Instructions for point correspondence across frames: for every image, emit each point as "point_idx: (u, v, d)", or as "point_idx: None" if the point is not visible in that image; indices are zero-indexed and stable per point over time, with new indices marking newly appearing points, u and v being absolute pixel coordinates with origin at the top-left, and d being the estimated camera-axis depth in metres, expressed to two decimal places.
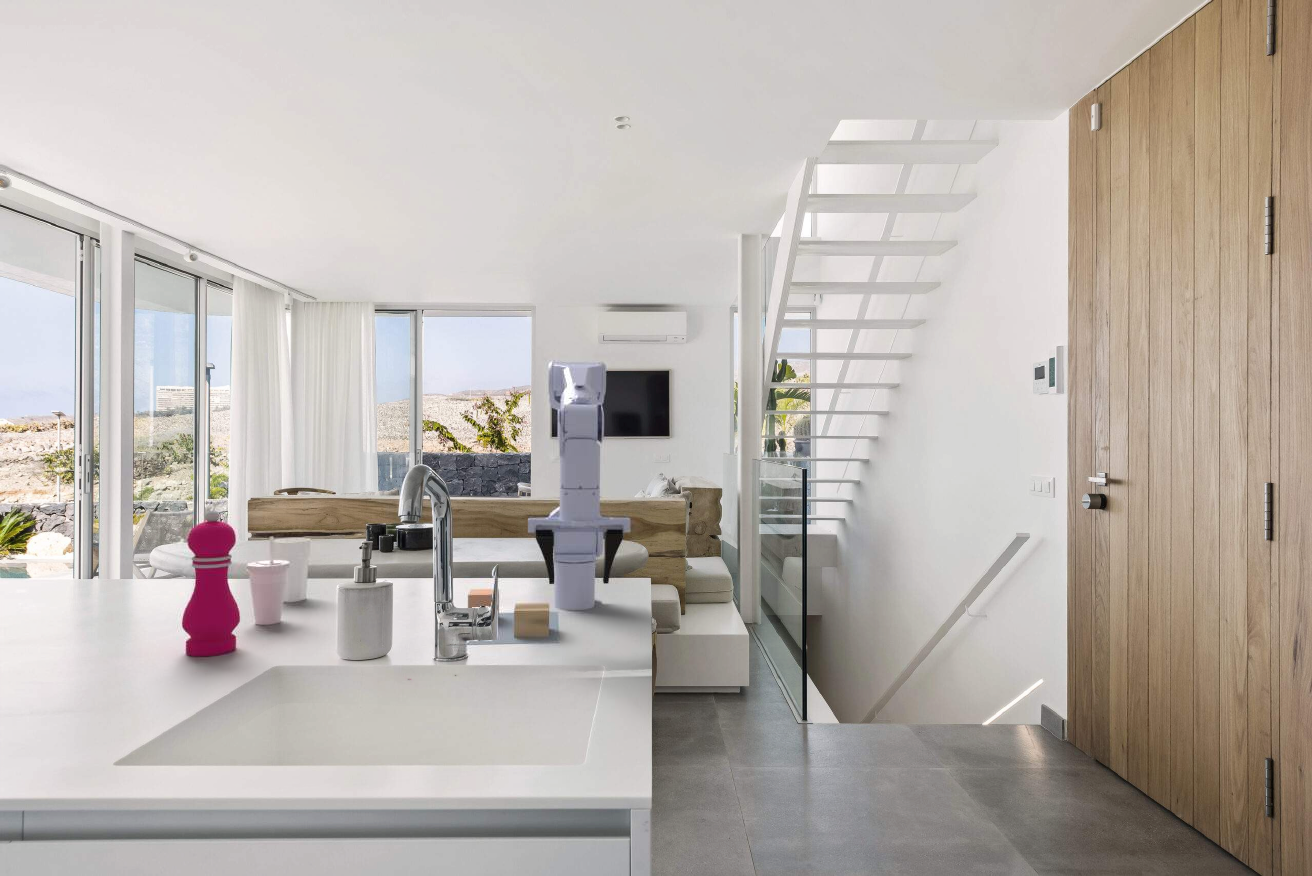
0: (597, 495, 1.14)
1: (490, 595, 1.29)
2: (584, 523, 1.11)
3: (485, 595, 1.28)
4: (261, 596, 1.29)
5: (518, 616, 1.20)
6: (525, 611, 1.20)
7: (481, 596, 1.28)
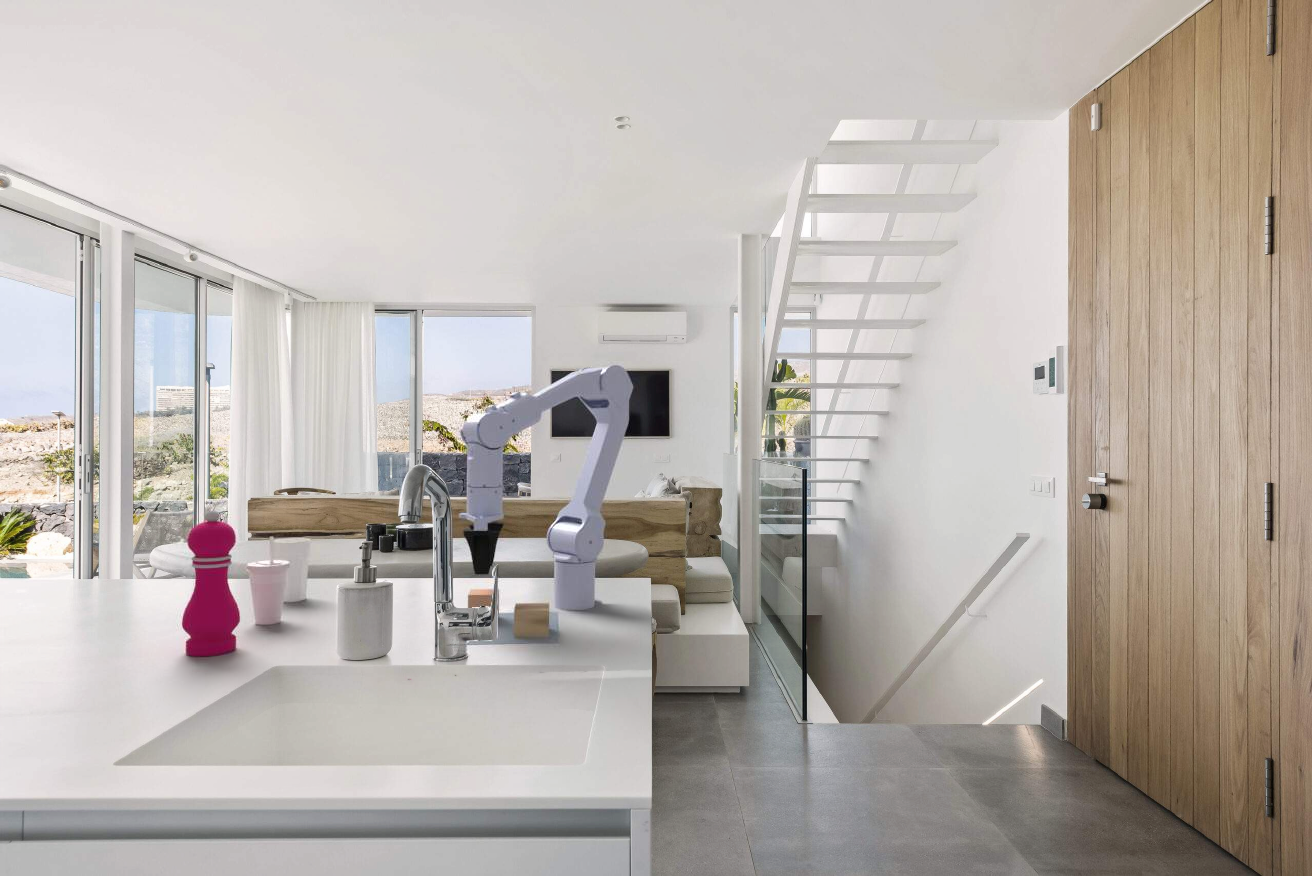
0: (474, 493, 1.28)
1: (490, 595, 1.29)
2: None
3: (485, 595, 1.28)
4: (261, 596, 1.29)
5: (518, 616, 1.20)
6: (525, 611, 1.20)
7: (481, 596, 1.28)
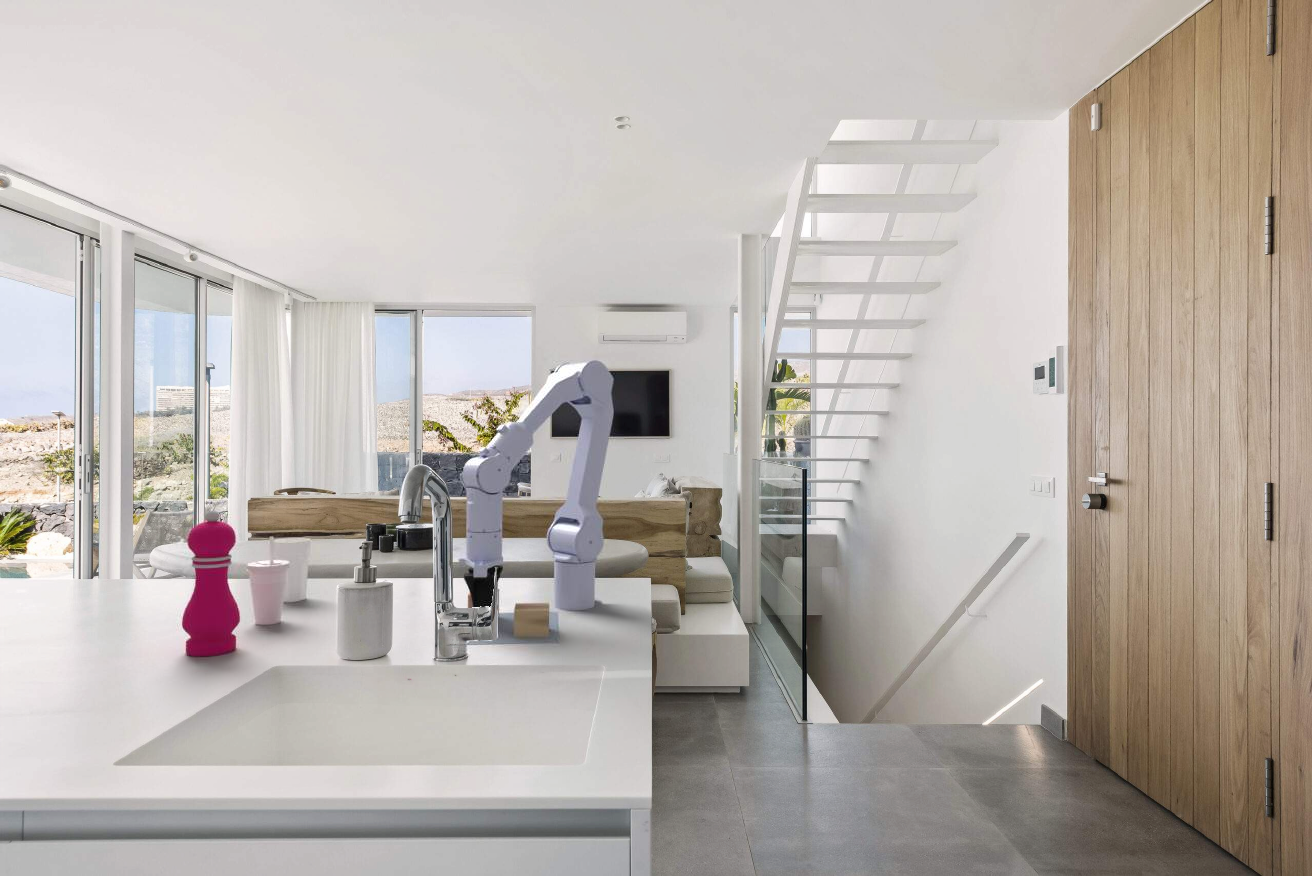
0: (474, 538, 1.28)
1: None
2: None
3: None
4: (261, 596, 1.29)
5: (518, 616, 1.20)
6: (525, 611, 1.20)
7: None
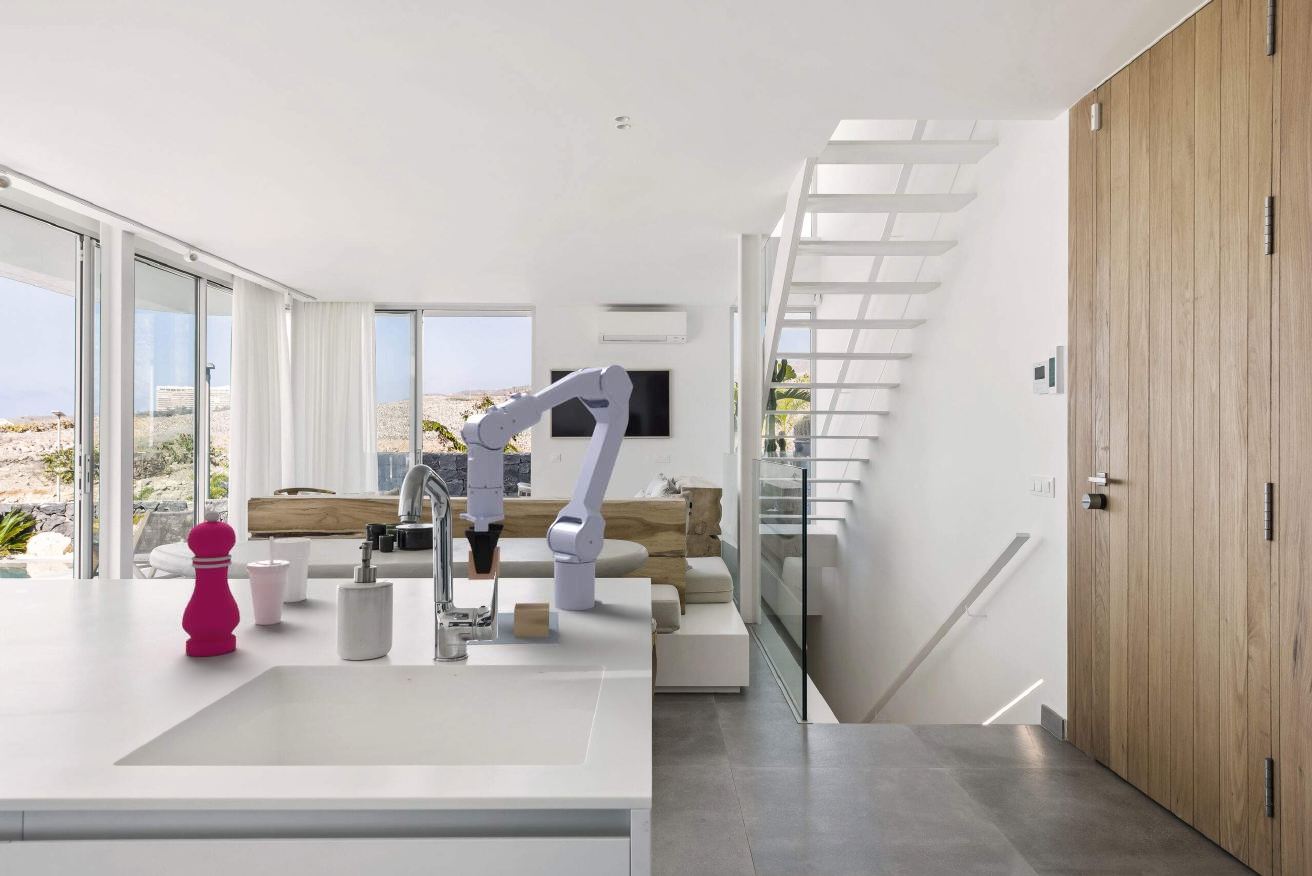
0: (475, 494, 1.28)
1: None
2: None
3: None
4: (261, 596, 1.29)
5: (518, 616, 1.20)
6: (525, 611, 1.20)
7: None
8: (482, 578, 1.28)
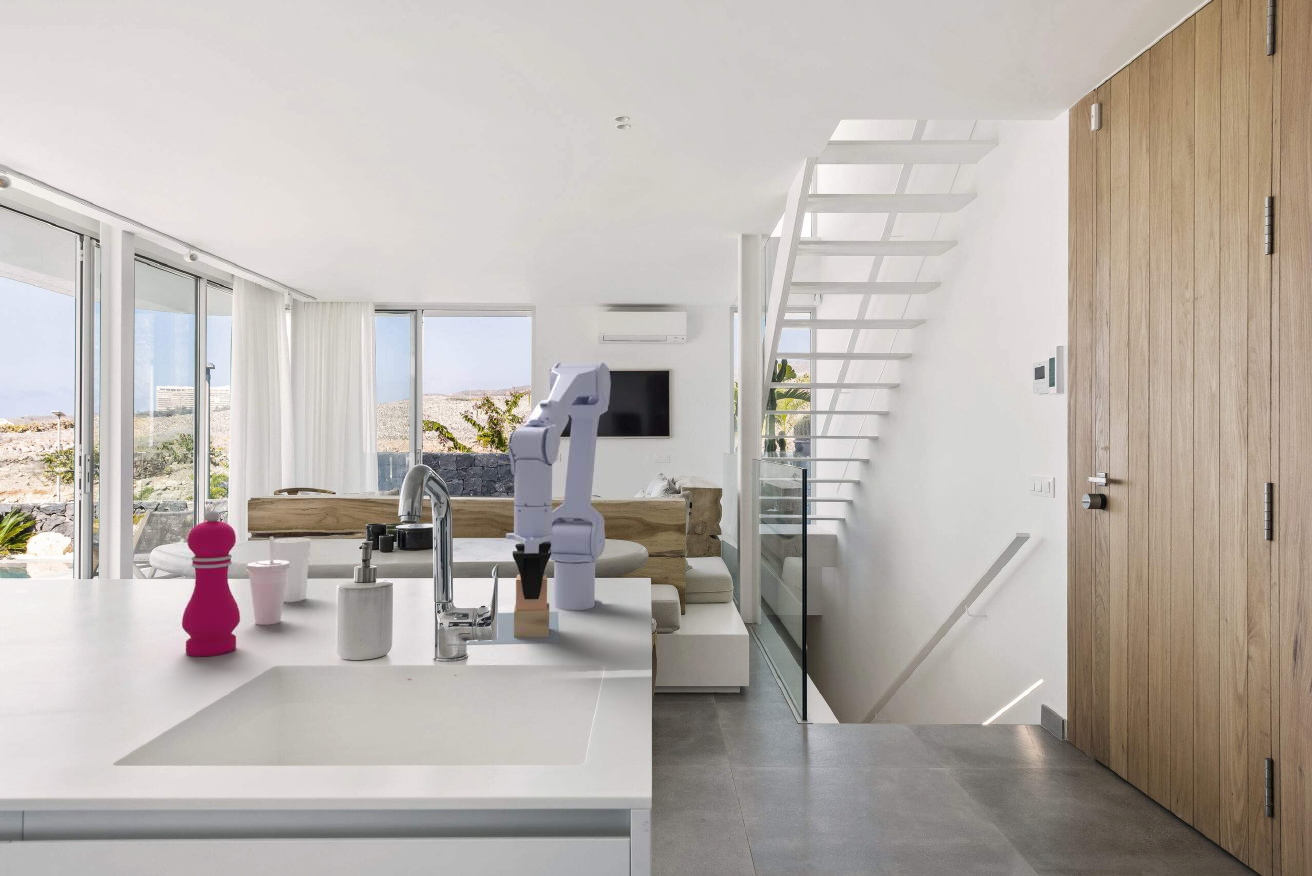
0: (523, 513, 1.20)
1: None
2: (506, 536, 1.22)
3: None
4: (261, 596, 1.29)
5: (518, 616, 1.20)
6: (525, 611, 1.20)
7: None
8: (530, 608, 1.20)
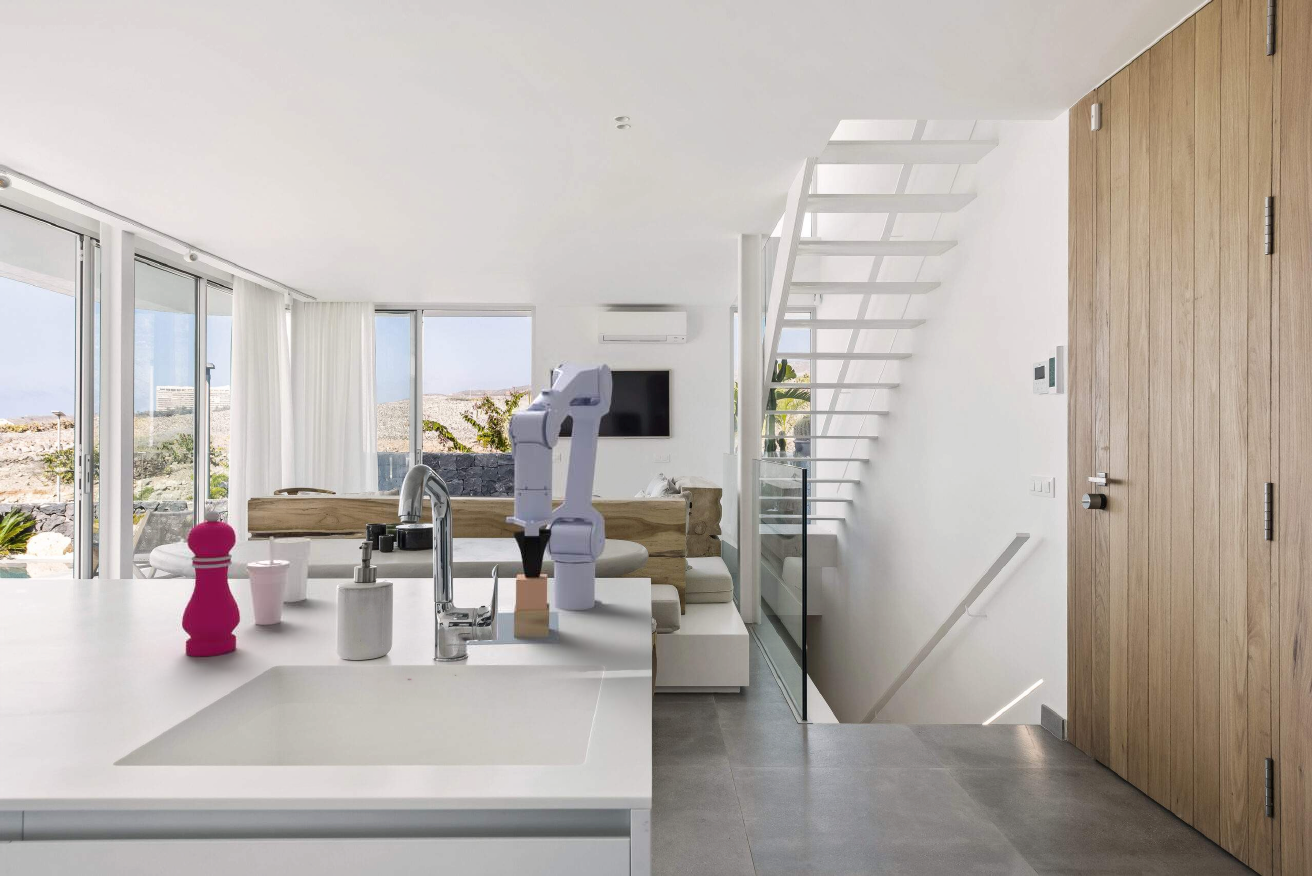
0: (523, 496, 1.20)
1: (539, 580, 1.21)
2: (506, 519, 1.21)
3: (534, 580, 1.21)
4: (261, 596, 1.29)
5: (518, 616, 1.20)
6: (525, 611, 1.20)
7: (530, 581, 1.20)
8: (530, 608, 1.20)
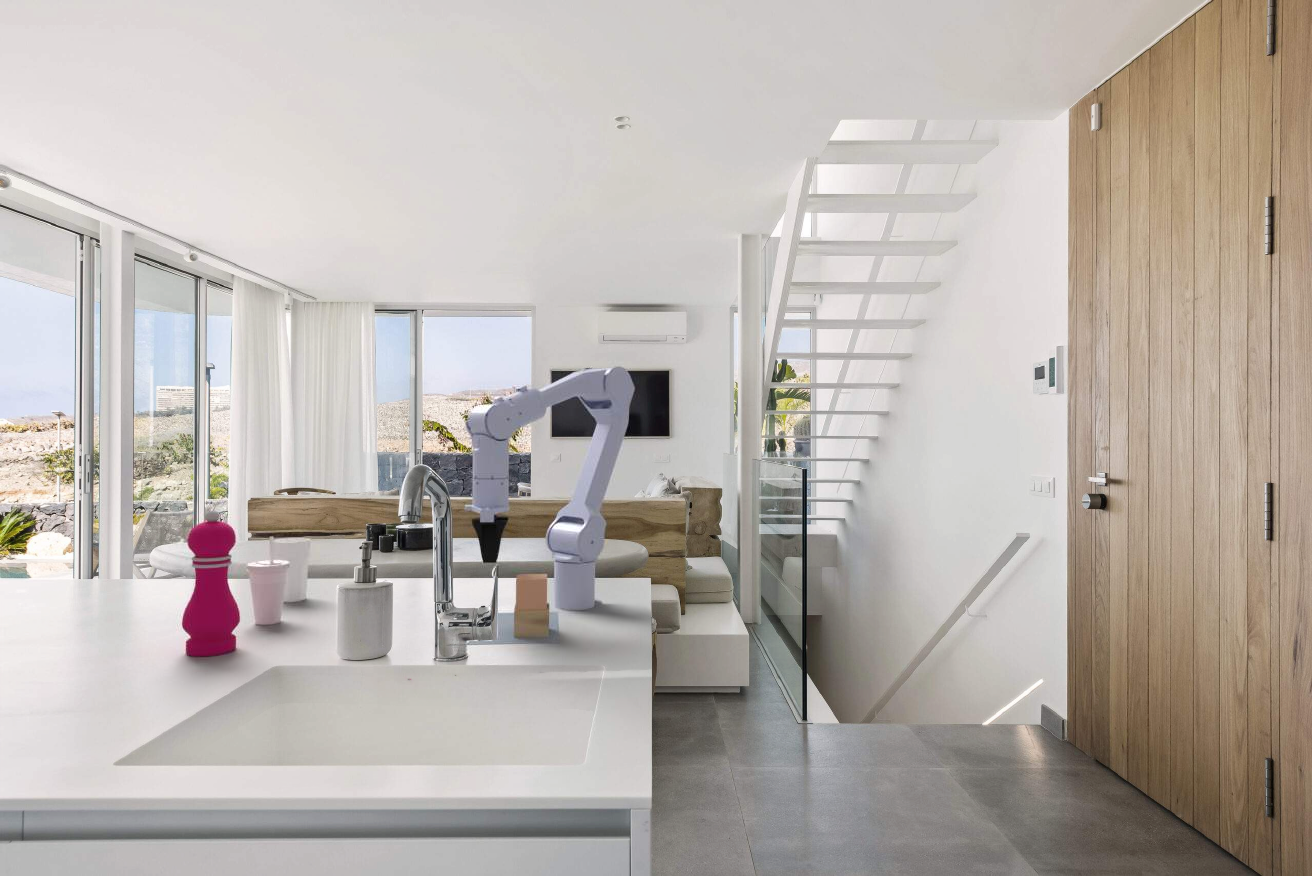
0: (480, 485, 1.27)
1: (539, 580, 1.21)
2: None
3: (534, 580, 1.21)
4: (261, 596, 1.29)
5: (518, 616, 1.20)
6: (525, 611, 1.20)
7: (530, 581, 1.20)
8: (530, 608, 1.20)
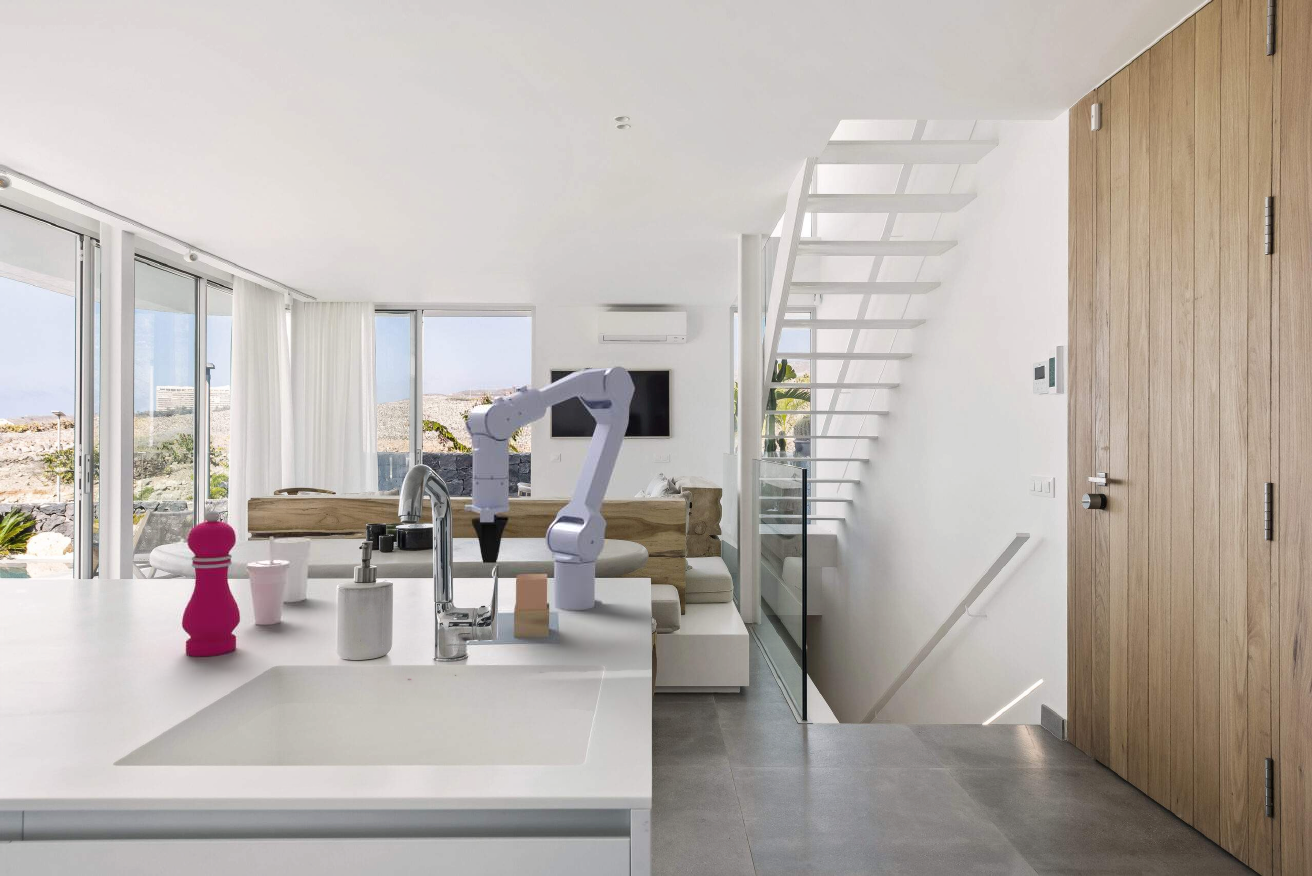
0: (480, 485, 1.27)
1: (539, 580, 1.21)
2: None
3: (534, 580, 1.21)
4: (261, 596, 1.29)
5: (518, 616, 1.20)
6: (525, 611, 1.20)
7: (530, 581, 1.20)
8: (530, 608, 1.20)
